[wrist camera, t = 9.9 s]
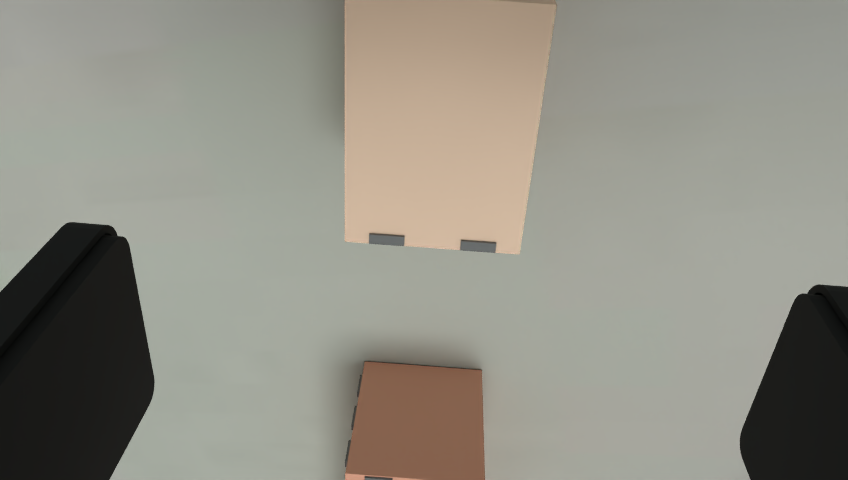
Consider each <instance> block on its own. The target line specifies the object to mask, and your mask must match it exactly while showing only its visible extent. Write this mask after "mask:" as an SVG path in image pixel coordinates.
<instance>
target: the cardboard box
mask: <svg viewBox="0 0 848 480" xmlns="http://www.w3.org/2000/svg"><path fill="white" fill-rule="evenodd" d="M357 397H359V398H358V404H357V406H355V409H354V414H353V420H352V430H353V433H352V438H351V440H349V442H348V448H347V454H346V459H345V467H346V473H345V480H485V466H484V431H483V395H482V370H473V369H459V368H446V367H432V366H419V365H406V364H392V363H379V362H366V361H365V364H364V369H363V375H360V381H359V386H358V392H357Z"/></svg>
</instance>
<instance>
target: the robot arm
mask: <svg viewBox="0 0 848 480" xmlns="http://www.w3.org/2000/svg"><path fill="white" fill-rule="evenodd" d="M153 391H154V375H153V369H152V364H151V359H150V353H149V348H148V343H147V337H146V332H145V327H144V321H143V316H142V311H141V305H140V300H139V295H138V289H137V284H136V279H135V273H134V268H133V263H132V257H131V252H130V247H129V243H128V241H127V240H126V238H124V237H121V236H117V233H116V231H115V230H114V228H113V227H111V226H110V225H99V224H87V223H75V222H70V223H66V224H65V225H64V226H62V227H61V228H60V229H59V231H58V232H57V233H56V234H55V235H54V236H53V237H52V238H51V239H50V240H49V241H48V242H47V243H46V244H45V245H44V246H43V247H42V249H41V250H40V251H39V252H38V253H37V254H36V255H35V256H34V257H33V258H32V259H31V260H30V261H29V262H28V263H27V264H26V265H25V266H24V268H23V269H22V270H21V271H20V272H19V273H18V274H17V275H16V276H15V277H14V278H13V279H12V280H11V281H10V282H9V283H8V284H7V286H6V287H5V288H4V289H3V290H2V291H1V292H0V480H109V479H110V477H111V476H112V474H113V472H114V470H115V468H116V466H117V464H118V463H119V461H120V459H121V457H122V455H123V453H124V451H125V449H126V448H127V446H128V444H129V442H130V440H131V438H132V436H133V434H134V433H135V431H136V429H137V427H138V425H139V423H140V421H141V419H142V418H143V416H144V414H145V412H146V410H147V408H148V406H149V404H150V402H151V400H152V396H153ZM740 450H741V455H742V459H743V461H744V464H745V466H746V469H747V472H748V474H749V477H750V479H751V480H848V287H843V286H831V285H816V286H813V287H812V288H811V289H810V290H809V292H808V294H800V295H798V296H797V297H796V299H795V301H794V302H793V305H792V307H791V310H790V312H789V315H788V317H787V319H786V322H785V324H784V327H783V329H782V332H781V334H780V337H779V339H778V342H777V344H776V347H775V349H774V352H773V354H772V357H771V359H770V361H769V364H768V366H767V369H766V371H765V374H764V376H763V379H762V381H761V384H760V386H759V389H758V391H757V394H756V396H755V399H754V401H753V403H752V406H751V408H750V411H749V413H748V416H747V418H746V421H745V423H744V426H743V428H742V431H741V436H740Z"/></svg>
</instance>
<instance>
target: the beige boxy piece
mask: <svg viewBox="0 0 848 480" xmlns="http://www.w3.org/2000/svg"><path fill="white" fill-rule="evenodd" d="M556 7H557V4H556V2H555V0H345V242H357V243H369V244H381V245H395V246H412V247H425V248H439V249H453V250H463V251H477V252H491V253H507V254H520V248H521V241H522V235H523V228H524V221H525V215H526V208H527V201H528V195H529V188H530V181H531V175H532V168H533V161H534V154H535V148H536V141H537V134H538V128H539V121H540V114H541V108H542V101H543V94H544V88H545V81H546V74H547V67H548V61H549V54H550V47H551V41H552V34H553V27H554V21H555V14H556Z"/></svg>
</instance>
